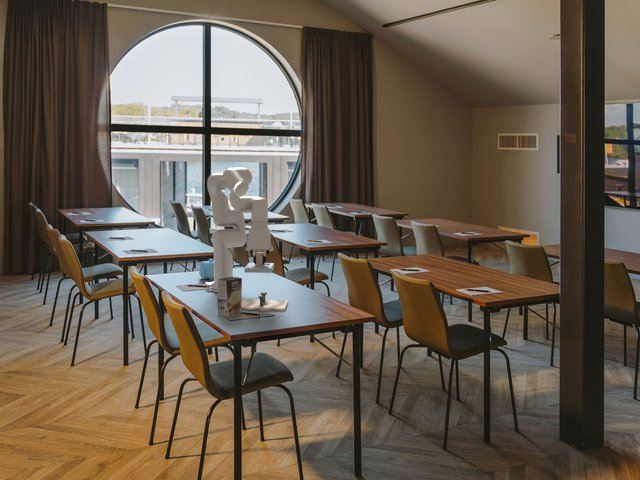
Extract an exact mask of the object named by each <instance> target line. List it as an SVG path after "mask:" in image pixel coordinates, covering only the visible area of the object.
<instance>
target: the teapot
mask: <svg viewBox="0 0 640 480" xmlns="http://www.w3.org/2000/svg"><path fill="white" fill-rule="evenodd" d="M199 264H200V266H199V267H200V268H199V273H198V274H199V276H200V277H201V278H202V280H203V279H205V280H207V279H209V281H211V280H213V281H214V258H209V259H208V260H206V261H205V260H204V261H201V262H199Z"/></svg>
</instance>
